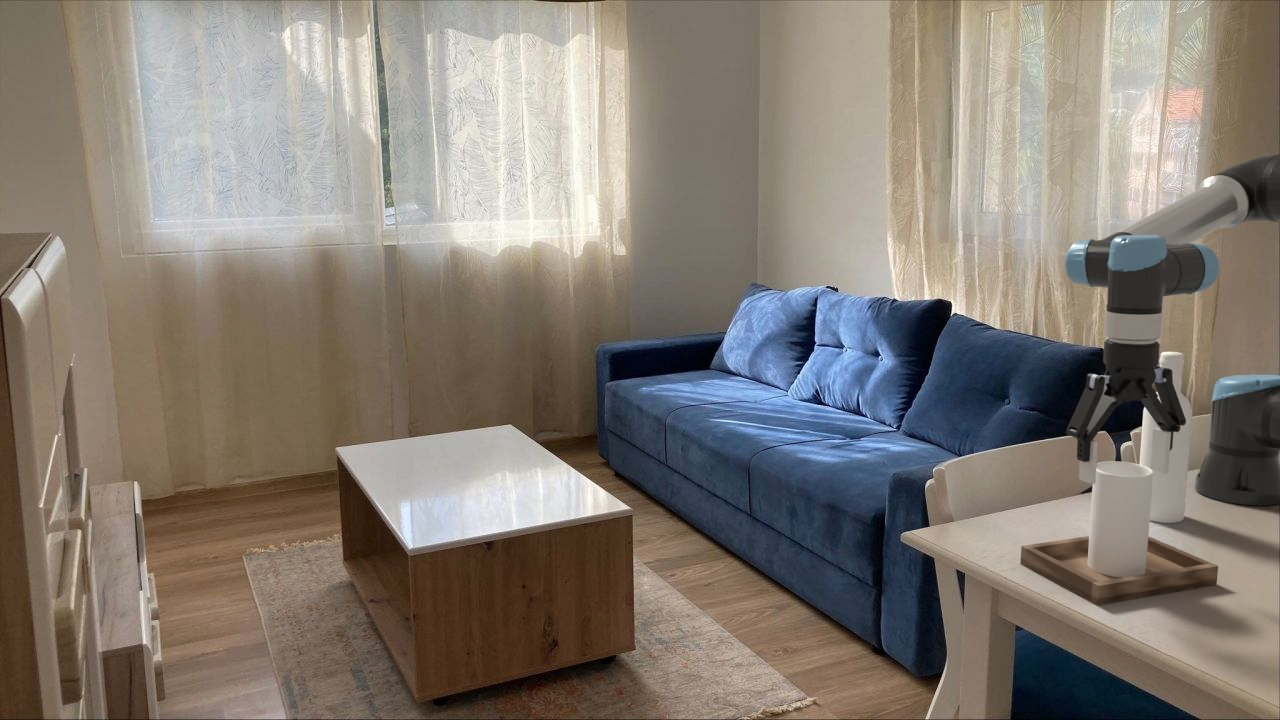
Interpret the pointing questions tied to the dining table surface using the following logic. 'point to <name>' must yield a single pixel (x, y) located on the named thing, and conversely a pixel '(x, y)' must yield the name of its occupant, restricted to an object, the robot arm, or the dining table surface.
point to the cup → (1120, 519)
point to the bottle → (1172, 484)
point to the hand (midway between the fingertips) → (1123, 476)
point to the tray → (1162, 576)
